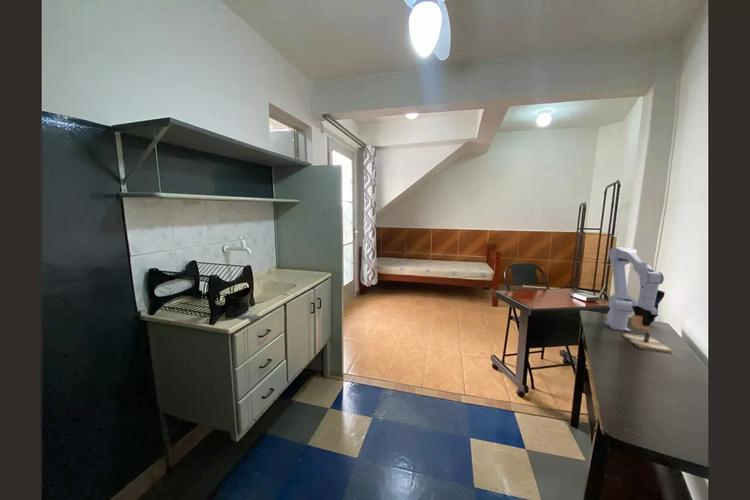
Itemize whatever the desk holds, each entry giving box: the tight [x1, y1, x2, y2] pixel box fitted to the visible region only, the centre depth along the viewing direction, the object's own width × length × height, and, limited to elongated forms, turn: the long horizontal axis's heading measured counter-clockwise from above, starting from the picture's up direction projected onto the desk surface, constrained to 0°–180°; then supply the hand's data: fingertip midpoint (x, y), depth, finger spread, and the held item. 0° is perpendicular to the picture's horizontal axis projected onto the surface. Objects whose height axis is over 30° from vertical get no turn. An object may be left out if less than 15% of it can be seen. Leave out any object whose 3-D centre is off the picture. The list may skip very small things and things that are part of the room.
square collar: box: [630, 314, 653, 331], centre depth 133 cm, size 5×5×5 cm
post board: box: [622, 331, 673, 354], centre depth 133 cm, size 14×12×6 cm
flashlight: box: [652, 289, 665, 323], centre depth 156 cm, size 8×8×20 cm
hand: (641, 323), depth 133 cm, fingers closed on square collar, 5 cm apart
